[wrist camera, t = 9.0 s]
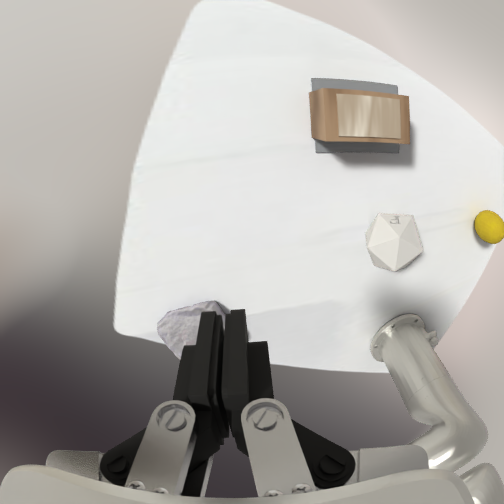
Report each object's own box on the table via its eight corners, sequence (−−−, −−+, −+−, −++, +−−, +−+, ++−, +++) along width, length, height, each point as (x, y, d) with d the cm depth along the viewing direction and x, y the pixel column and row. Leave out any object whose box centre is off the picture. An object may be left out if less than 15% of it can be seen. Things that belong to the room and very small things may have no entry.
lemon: (469, 205, 39) (498, 222, 32) (486, 203, 39) (514, 219, 32) (464, 233, 41) (491, 253, 34) (482, 230, 41) (508, 248, 34)
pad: (396, 85, 30) (397, 85, 30) (398, 153, 35) (398, 153, 35) (311, 78, 30) (311, 77, 30) (315, 152, 35) (316, 152, 35)
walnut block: (309, 92, 31) (385, 97, 31) (311, 137, 34) (386, 138, 34) (323, 87, 25) (409, 96, 26) (326, 141, 28) (410, 144, 28)
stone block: (156, 313, 47) (189, 355, 49) (147, 327, 43) (183, 371, 45) (210, 282, 45) (243, 329, 47) (205, 294, 41) (242, 344, 43)
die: (412, 219, 40) (427, 205, 31) (411, 273, 40) (427, 272, 31) (364, 216, 43) (369, 201, 34) (362, 270, 42) (367, 269, 33)
